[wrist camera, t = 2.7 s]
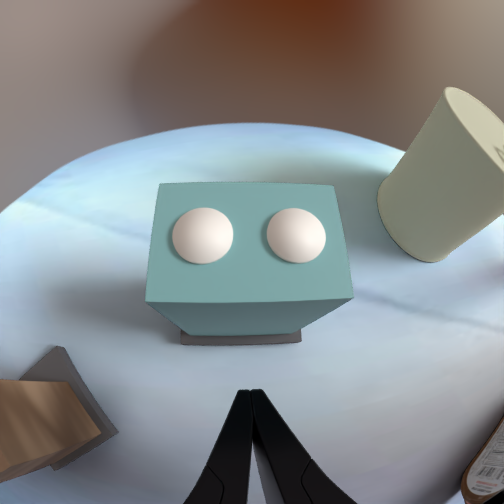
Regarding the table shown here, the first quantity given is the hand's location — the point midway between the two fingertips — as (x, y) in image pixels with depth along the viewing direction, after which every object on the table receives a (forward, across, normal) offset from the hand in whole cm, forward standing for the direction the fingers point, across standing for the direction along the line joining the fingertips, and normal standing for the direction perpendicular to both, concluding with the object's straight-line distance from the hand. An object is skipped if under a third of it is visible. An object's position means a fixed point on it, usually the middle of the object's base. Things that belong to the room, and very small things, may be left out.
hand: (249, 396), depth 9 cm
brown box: (+1, +13, +8) cm, 15 cm away
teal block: (+8, 0, +1) cm, 8 cm away
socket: (+2, +13, +8) cm, 15 cm away
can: (+14, -16, -3) cm, 22 cm away
